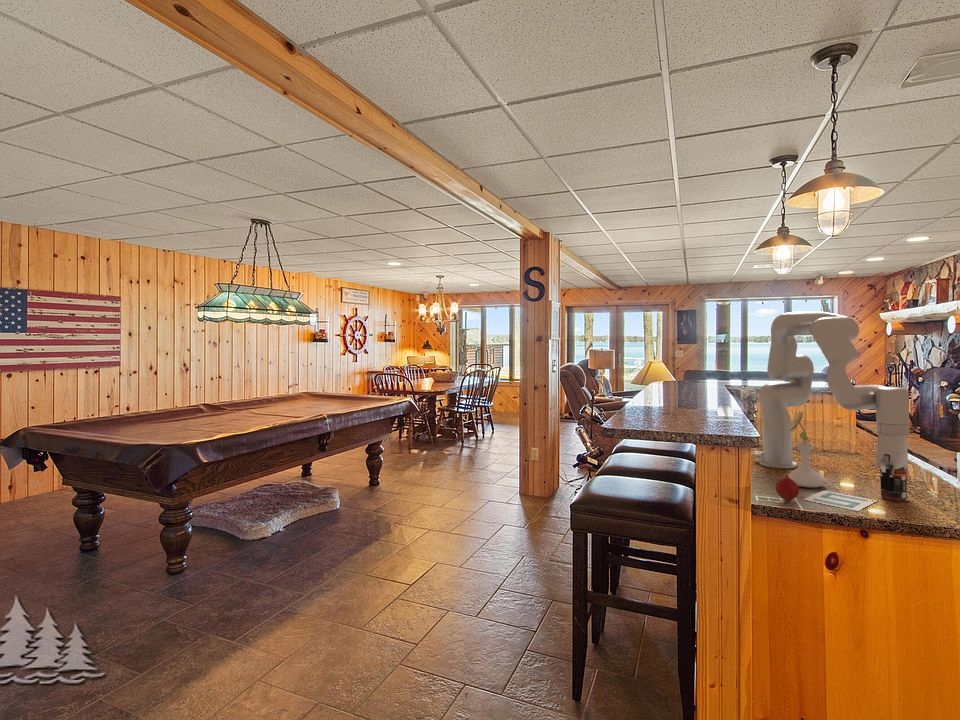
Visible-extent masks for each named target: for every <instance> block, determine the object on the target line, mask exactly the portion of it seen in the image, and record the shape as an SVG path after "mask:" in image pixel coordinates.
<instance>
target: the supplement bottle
mask: <svg viewBox="0 0 960 720" xmlns="http://www.w3.org/2000/svg"><path fill="white" fill-rule="evenodd" d="M889 471H891V470H889ZM906 472H907V471H906V470H905V469H903V468H899V469H897V470H895V471H894V475H893V477H895V491H888V490H882V489H881V488H880V496H881V498H883V499H884V500H887V501H891V502H892V501H893V502H906V501H907V500H908V499H907V498H908V474H907V475H906Z"/></svg>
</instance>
